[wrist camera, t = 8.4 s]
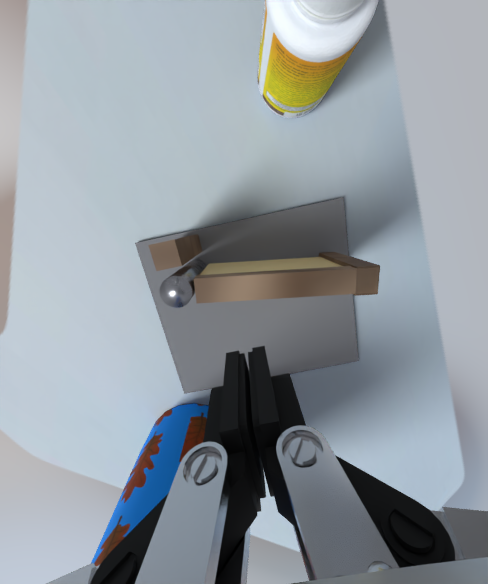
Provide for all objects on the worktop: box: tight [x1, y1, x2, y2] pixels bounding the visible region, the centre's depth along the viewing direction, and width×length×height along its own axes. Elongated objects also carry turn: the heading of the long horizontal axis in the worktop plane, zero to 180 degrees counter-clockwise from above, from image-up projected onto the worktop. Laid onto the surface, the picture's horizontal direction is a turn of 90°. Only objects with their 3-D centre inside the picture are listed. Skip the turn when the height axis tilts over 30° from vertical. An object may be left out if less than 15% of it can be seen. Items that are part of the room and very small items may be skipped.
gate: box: [159, 252, 380, 308], centre depth 19 cm, size 14×2×8 cm, turn 93°
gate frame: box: [135, 197, 359, 394], centre depth 20 cm, size 18×19×8 cm
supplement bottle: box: [258, 0, 379, 118], centre depth 14 cm, size 6×6×10 cm
